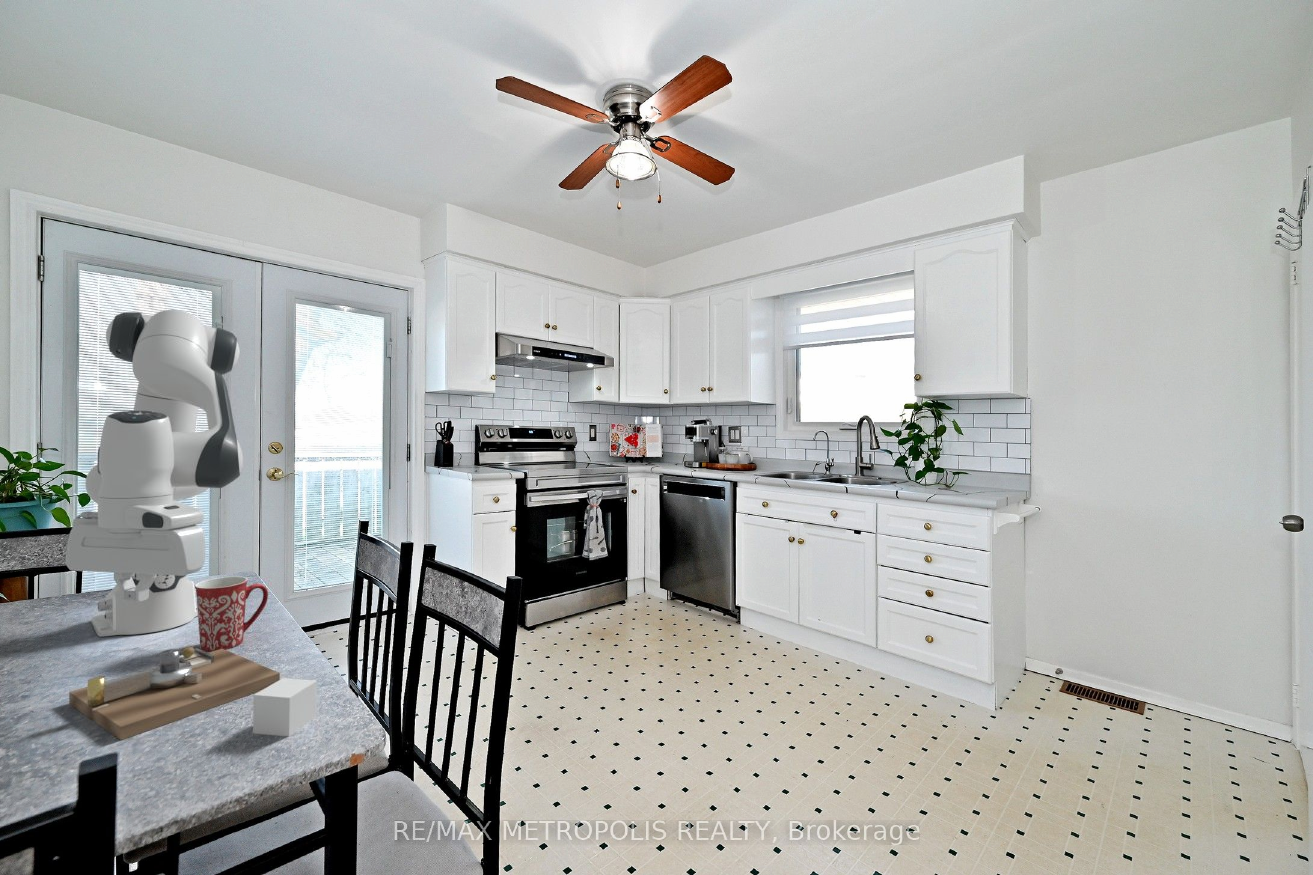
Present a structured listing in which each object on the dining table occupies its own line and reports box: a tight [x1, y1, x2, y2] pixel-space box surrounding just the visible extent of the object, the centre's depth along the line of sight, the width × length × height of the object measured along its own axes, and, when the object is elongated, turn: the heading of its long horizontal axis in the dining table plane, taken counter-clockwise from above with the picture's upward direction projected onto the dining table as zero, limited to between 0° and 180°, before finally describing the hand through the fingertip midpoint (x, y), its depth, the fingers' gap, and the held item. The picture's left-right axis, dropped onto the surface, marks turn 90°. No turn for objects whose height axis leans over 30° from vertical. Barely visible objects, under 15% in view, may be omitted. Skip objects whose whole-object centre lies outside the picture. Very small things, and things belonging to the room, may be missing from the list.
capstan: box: [87, 648, 202, 706], centre depth 95 cm, size 13×9×5 cm
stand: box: [68, 646, 281, 741], centre depth 99 cm, size 22×22×4 cm
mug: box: [194, 575, 269, 652], centre depth 122 cm, size 13×9×14 cm
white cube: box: [252, 677, 318, 737], centre depth 90 cm, size 6×6×6 cm
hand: (135, 599), depth 91 cm, fingers closed
